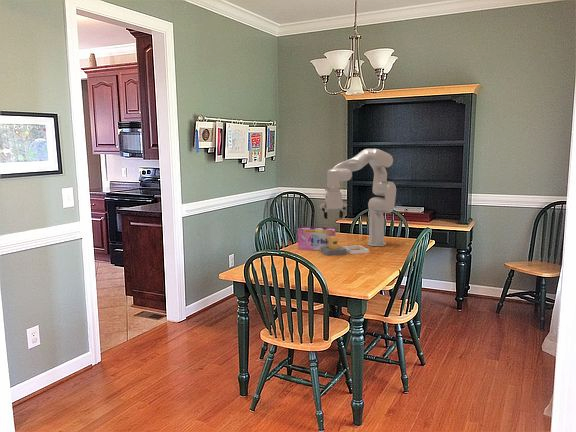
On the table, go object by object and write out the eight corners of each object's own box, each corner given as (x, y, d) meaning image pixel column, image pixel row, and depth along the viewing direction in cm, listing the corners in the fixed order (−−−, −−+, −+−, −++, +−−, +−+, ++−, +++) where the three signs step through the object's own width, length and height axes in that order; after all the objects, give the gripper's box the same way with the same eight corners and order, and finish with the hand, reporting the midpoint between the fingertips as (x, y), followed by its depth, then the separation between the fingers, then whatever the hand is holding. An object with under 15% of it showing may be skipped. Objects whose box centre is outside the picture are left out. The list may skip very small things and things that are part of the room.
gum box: (337, 248, 319) (337, 227, 317) (333, 251, 312) (333, 229, 310) (302, 247, 328) (301, 226, 326) (297, 249, 321) (297, 228, 319)
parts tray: (342, 250, 318) (342, 246, 318) (359, 249, 321) (359, 245, 321) (350, 255, 305) (350, 250, 304) (368, 254, 308) (369, 249, 308)
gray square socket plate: (320, 253, 312) (320, 246, 312) (338, 251, 315) (338, 245, 315) (327, 257, 301) (327, 250, 300) (346, 256, 304) (346, 249, 303)
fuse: (331, 254, 304) (331, 238, 303) (328, 252, 310) (328, 236, 309) (338, 253, 306) (338, 237, 304) (334, 251, 311) (334, 235, 310)
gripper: (322, 191, 296) (322, 219, 299) (349, 190, 301) (349, 218, 304) (317, 189, 304) (317, 218, 306) (344, 189, 308) (344, 216, 311)
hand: (333, 218), depth 305 cm, fingers open, 9 cm apart
